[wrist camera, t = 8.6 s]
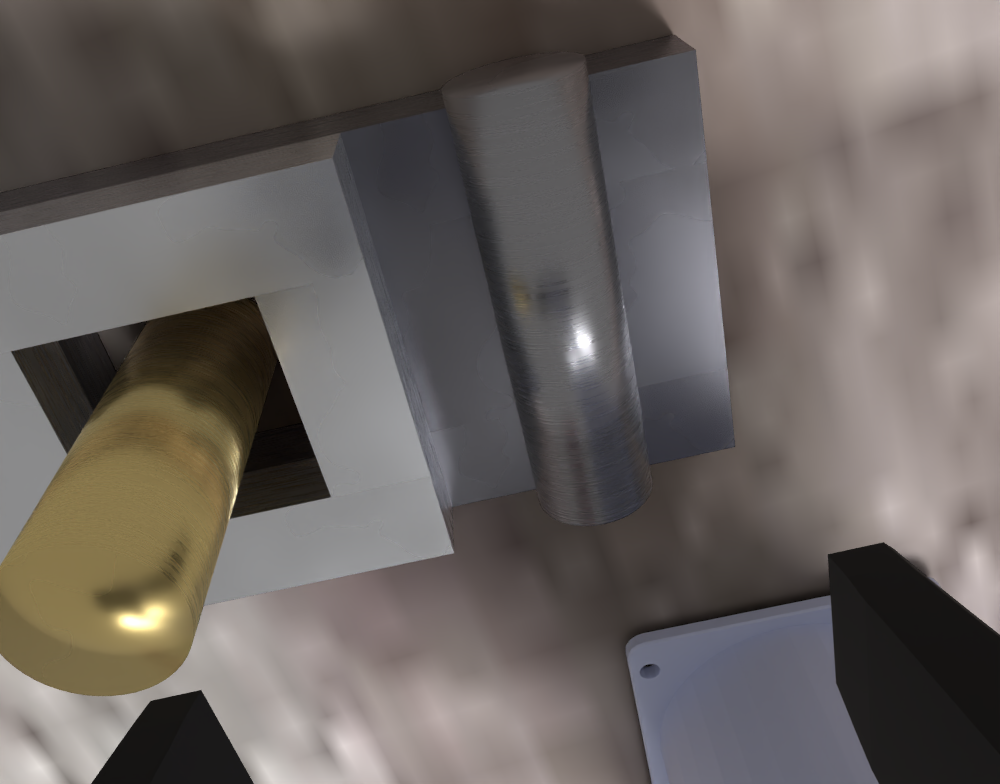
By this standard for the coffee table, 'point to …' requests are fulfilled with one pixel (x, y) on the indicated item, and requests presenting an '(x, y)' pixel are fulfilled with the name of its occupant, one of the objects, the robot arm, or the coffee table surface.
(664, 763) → the robot arm
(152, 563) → the brass pin
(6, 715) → the coffee table surface
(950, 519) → the coffee table surface
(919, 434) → the coffee table surface
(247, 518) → the silver hollow frame
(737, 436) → the coffee table surface
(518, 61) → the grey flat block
